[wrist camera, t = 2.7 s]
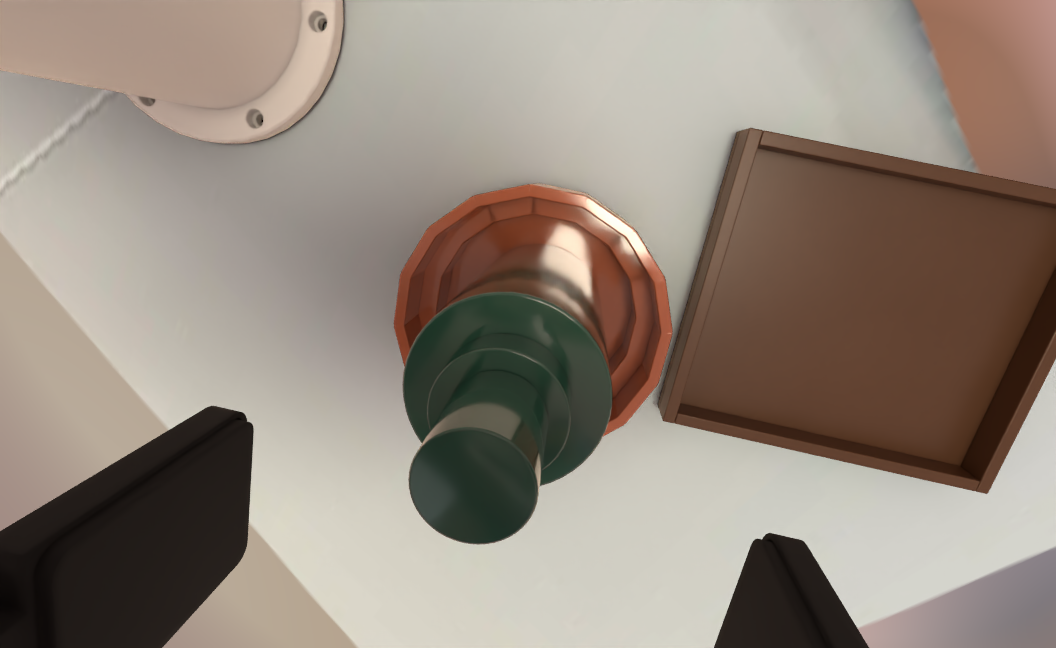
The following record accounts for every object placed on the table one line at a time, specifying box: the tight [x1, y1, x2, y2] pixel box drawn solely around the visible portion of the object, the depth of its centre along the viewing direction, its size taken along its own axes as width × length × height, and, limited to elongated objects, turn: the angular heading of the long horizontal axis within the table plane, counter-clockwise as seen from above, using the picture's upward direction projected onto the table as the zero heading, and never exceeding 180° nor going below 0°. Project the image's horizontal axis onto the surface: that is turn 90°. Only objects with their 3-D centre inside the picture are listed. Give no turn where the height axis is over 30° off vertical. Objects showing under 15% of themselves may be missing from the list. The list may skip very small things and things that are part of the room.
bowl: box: [394, 183, 673, 436], centre depth 26 cm, size 12×12×5 cm
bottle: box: [403, 244, 613, 544], centre depth 19 cm, size 6×6×17 cm
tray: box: [658, 128, 1056, 494], centre depth 26 cm, size 16×14×2 cm
